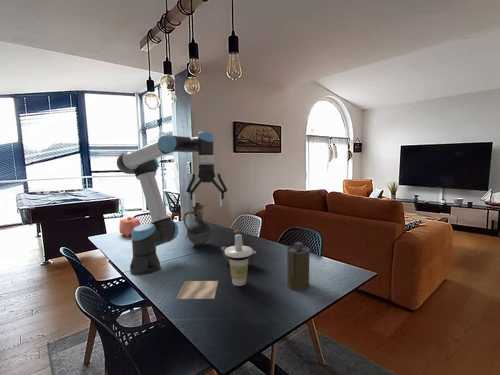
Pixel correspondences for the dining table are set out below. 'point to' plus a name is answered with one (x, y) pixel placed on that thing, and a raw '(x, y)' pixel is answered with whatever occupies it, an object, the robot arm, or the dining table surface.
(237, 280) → the coffee cup
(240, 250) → the lid
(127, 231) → the teapot
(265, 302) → the dining table surface
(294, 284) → the canister
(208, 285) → the mat
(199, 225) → the pitcher
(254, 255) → the planter
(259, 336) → the dining table surface
